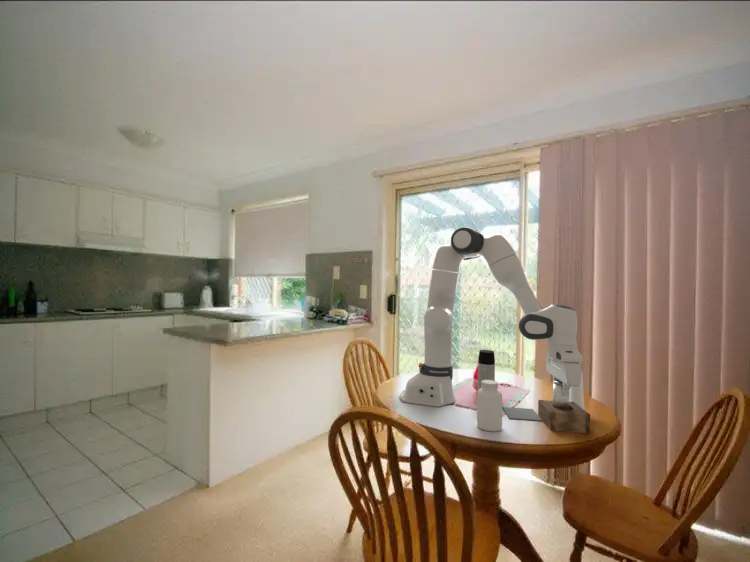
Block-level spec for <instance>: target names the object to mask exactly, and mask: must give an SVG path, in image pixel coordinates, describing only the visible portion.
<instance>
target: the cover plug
mask: <svg viewBox="0 0 750 562" xmlns="http://www.w3.org/2000/svg"><path fill="white" fill-rule="evenodd" d="M552 381H553V382H552V401H553V407H554V408H558V409H561V410H569V401H570V390H569V395H568V396H564V395H562V393H561V392H562V391H561V389H563V385H562V382H561V381H560V380H553V379H552Z"/></svg>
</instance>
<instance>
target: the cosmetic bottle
mask: <svg viewBox="0 0 750 562" xmlns="http://www.w3.org/2000/svg"><path fill="white" fill-rule="evenodd" d="M580 364H581V365H582V363H580ZM569 402H575V403H576V404H577V405H578V406H580V407H581V408H582V409H584V410H585V411H586V409H585V398H584V377H583V371H581V383H580V385H579V387H572V386H571V388H570V401H569Z"/></svg>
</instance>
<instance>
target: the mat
mask: <svg viewBox="0 0 750 562" xmlns="http://www.w3.org/2000/svg"><path fill="white" fill-rule="evenodd" d="M503 409H504V410H503ZM502 410H503V411H504V413H505V414H506V416H507V417H508V419H509V420H516V421H517V420H519V421H521V420H522V421H531V422H532V421H534V422H543V420H542V419H541V418H540V417H539V416H538V413H536V411H535V410H534V409H533V408H524V407H510V406H502Z"/></svg>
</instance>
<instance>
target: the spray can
mask: <svg viewBox="0 0 750 562" xmlns="http://www.w3.org/2000/svg"><path fill="white" fill-rule="evenodd" d="M477 359H478V361H477V362H478V363H477V391H478V390H479V389H481V381H482V380H493V381H496V380H495V379H496V376H495V374H496V372H495V371H496V370H495V369H496V367H495V366H496V358H495V351H494V350H491V349H480V350H479V353H478V358H477Z"/></svg>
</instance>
